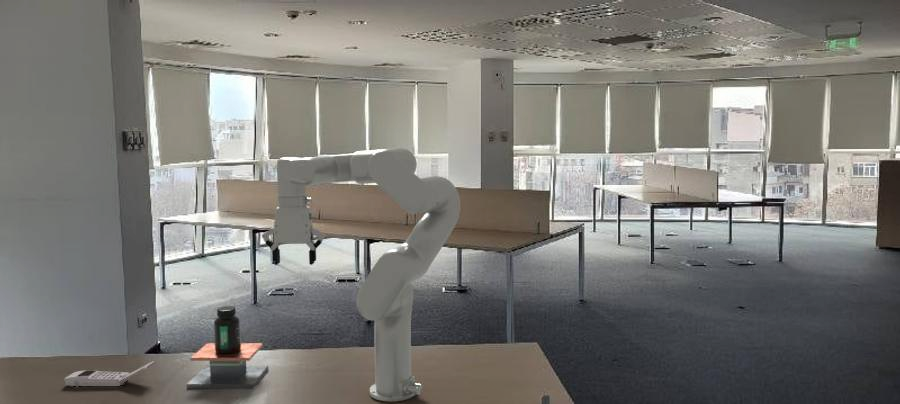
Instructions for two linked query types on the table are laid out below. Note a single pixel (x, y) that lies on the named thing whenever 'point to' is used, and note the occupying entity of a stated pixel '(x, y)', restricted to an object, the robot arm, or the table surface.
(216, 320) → the supplement bottle
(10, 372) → the table surface
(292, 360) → the table surface
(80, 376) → the mobile phone
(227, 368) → the stand
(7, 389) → the table surface
